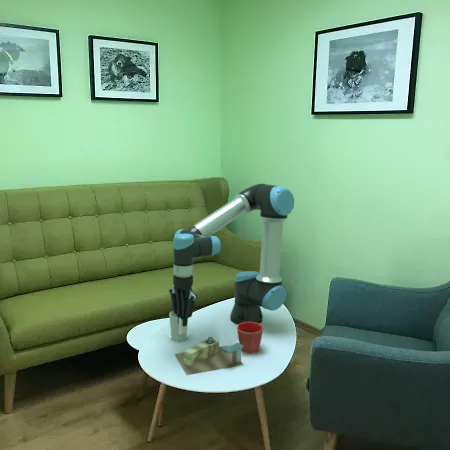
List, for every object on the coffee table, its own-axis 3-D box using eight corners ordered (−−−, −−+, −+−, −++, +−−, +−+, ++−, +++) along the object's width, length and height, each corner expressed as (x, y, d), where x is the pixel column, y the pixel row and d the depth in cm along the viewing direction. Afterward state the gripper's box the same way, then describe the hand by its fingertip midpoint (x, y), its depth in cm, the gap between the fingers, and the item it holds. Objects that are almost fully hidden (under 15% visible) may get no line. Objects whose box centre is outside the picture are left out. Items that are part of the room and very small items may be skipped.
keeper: (221, 365, 175) (222, 348, 174) (236, 359, 180) (237, 342, 179) (227, 368, 173) (227, 351, 172) (242, 362, 178) (243, 345, 177)
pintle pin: (211, 351, 186) (211, 336, 185) (213, 353, 184) (213, 338, 183) (206, 352, 185) (207, 337, 184) (208, 354, 184) (208, 339, 182)
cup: (185, 345, 193) (185, 318, 191) (166, 343, 195) (166, 316, 192) (190, 337, 201) (190, 311, 198) (172, 335, 202) (172, 309, 200)
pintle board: (227, 347, 192) (227, 345, 192) (244, 367, 176) (244, 364, 176) (174, 356, 184) (174, 353, 184) (186, 377, 168) (186, 375, 168)
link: (191, 367, 174) (191, 354, 173) (182, 362, 177) (182, 350, 176) (218, 353, 185) (218, 341, 184) (209, 349, 188) (209, 337, 187)
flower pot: (232, 352, 188) (233, 329, 186) (241, 341, 198) (242, 319, 196) (257, 357, 184) (258, 334, 182) (265, 345, 194) (266, 324, 192)
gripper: (163, 273, 178) (163, 331, 183) (188, 280, 170) (187, 341, 175) (177, 269, 184) (177, 325, 188) (202, 276, 176) (201, 334, 181)
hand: (182, 333), depth 182 cm, fingers closed
